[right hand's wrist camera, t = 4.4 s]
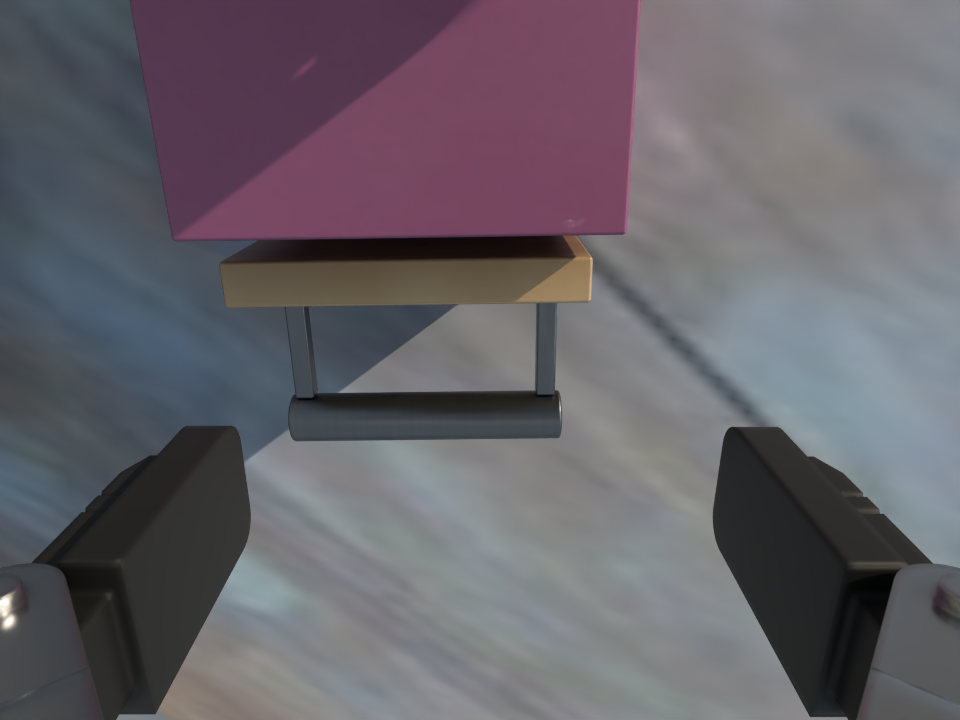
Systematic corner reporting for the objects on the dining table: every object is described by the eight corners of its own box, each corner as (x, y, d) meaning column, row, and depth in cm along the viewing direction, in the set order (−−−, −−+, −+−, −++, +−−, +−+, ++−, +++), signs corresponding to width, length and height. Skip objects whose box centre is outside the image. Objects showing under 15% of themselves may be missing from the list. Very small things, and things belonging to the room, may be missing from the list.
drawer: (552, 376, 27) (583, 492, 19) (323, 379, 27) (254, 495, 19) (567, -248, 20) (626, -500, 12) (257, -242, 20) (99, -487, 12)
